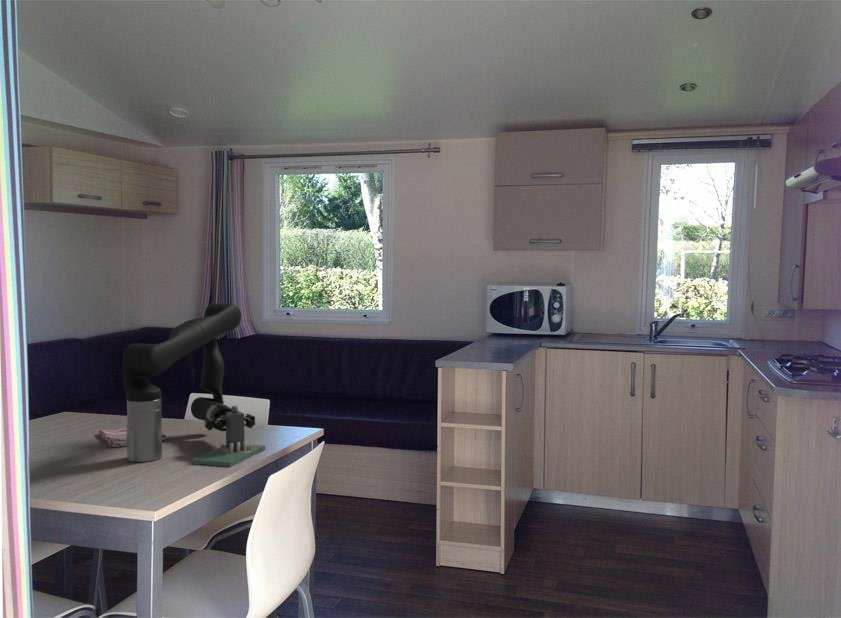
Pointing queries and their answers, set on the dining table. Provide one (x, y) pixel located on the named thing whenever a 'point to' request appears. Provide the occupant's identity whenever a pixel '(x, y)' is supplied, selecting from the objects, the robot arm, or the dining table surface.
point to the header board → (228, 455)
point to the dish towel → (118, 437)
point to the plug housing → (234, 428)
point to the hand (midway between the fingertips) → (236, 426)
